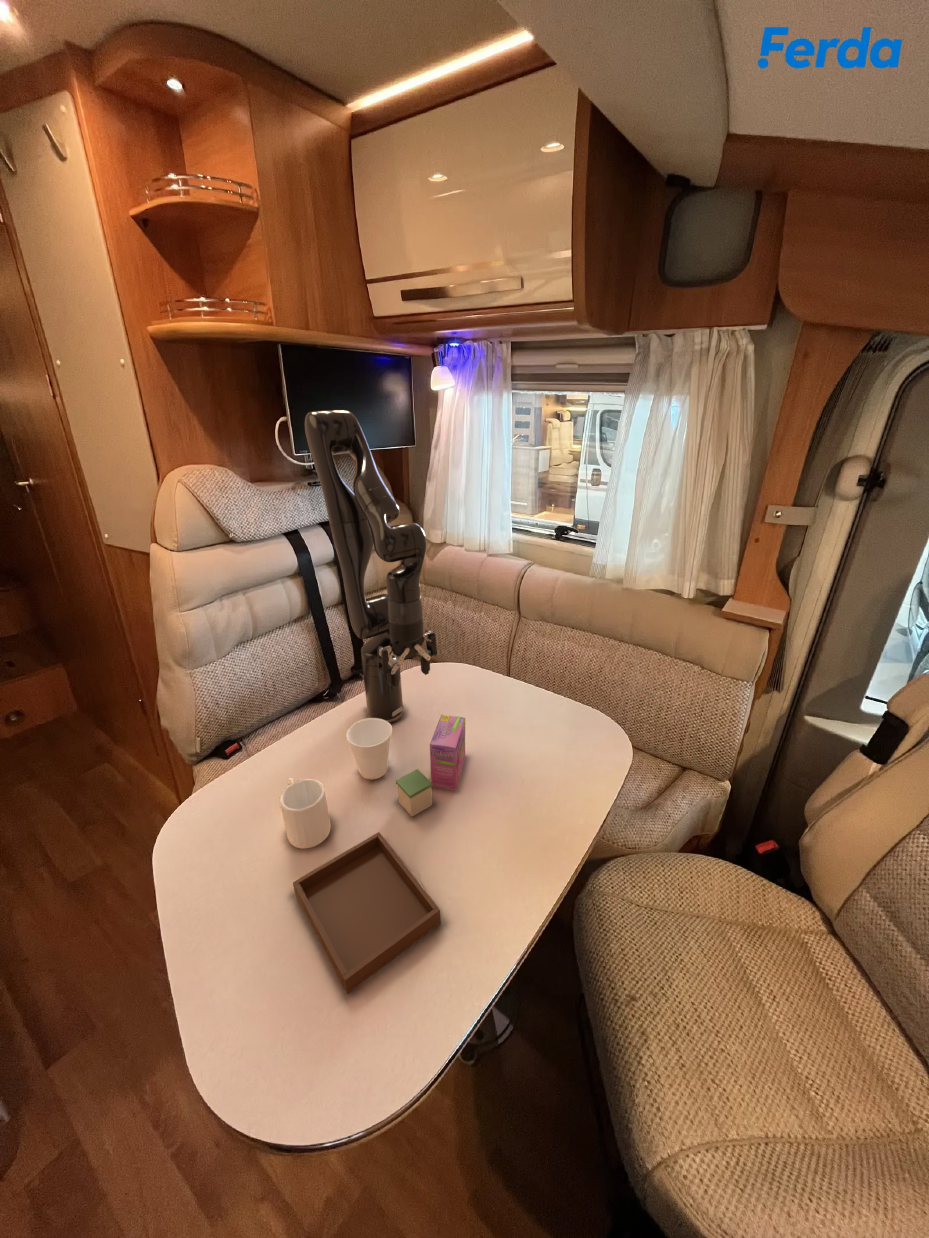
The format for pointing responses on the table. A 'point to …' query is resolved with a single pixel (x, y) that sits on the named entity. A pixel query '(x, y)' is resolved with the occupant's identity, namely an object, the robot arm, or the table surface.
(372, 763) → the cup
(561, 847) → the table surface
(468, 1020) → the table surface
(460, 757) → the box
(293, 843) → the mug
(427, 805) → the container
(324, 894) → the tray
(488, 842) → the table surface
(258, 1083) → the table surface
